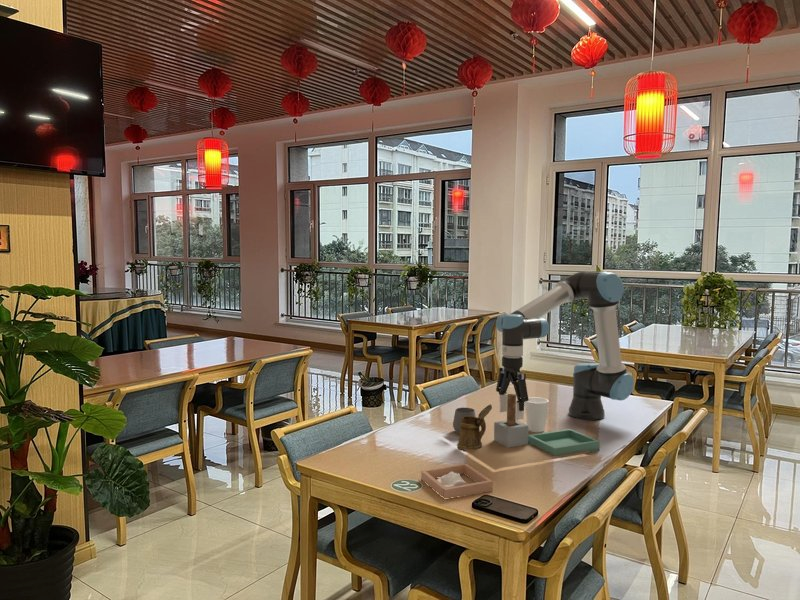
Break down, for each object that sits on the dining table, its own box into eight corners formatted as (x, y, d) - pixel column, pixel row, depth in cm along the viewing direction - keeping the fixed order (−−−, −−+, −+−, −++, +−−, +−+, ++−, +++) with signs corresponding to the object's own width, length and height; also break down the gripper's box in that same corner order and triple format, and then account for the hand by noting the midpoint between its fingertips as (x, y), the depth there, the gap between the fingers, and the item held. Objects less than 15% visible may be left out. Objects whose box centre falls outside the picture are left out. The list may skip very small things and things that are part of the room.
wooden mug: (483, 457, 204) (483, 406, 202) (452, 448, 213) (452, 400, 212) (497, 450, 211) (497, 402, 209) (466, 442, 220) (467, 395, 218)
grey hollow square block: (514, 439, 223) (514, 419, 222) (528, 446, 214) (528, 425, 214) (494, 442, 219) (494, 421, 219) (507, 450, 211) (507, 428, 210)
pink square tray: (465, 471, 190) (465, 463, 190) (492, 490, 175) (493, 481, 175) (420, 479, 184) (420, 470, 183) (444, 500, 169) (444, 490, 168)
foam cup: (548, 436, 227) (549, 403, 225) (524, 434, 228) (524, 402, 227) (547, 429, 236) (548, 397, 235) (524, 427, 238) (524, 396, 237)
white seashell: (463, 480, 173) (432, 476, 175) (463, 494, 173) (431, 490, 176) (469, 468, 182) (439, 465, 185) (469, 482, 183) (439, 478, 185)
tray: (570, 437, 225) (570, 428, 225) (599, 450, 211) (599, 441, 210) (527, 444, 217) (527, 435, 217) (554, 458, 203) (554, 448, 202)
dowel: (512, 440, 219) (512, 393, 217) (516, 442, 216) (517, 395, 214) (504, 441, 218) (505, 394, 216) (509, 444, 215) (510, 396, 213)
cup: (452, 431, 233) (452, 406, 233) (475, 431, 233) (475, 406, 232) (453, 438, 224) (453, 413, 223) (477, 438, 224) (478, 413, 223)
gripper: (487, 352, 223) (486, 408, 225) (521, 362, 202) (520, 424, 204) (503, 350, 226) (502, 406, 228) (539, 360, 205) (538, 422, 207)
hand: (511, 415), depth 216 cm, fingers open, 10 cm apart
